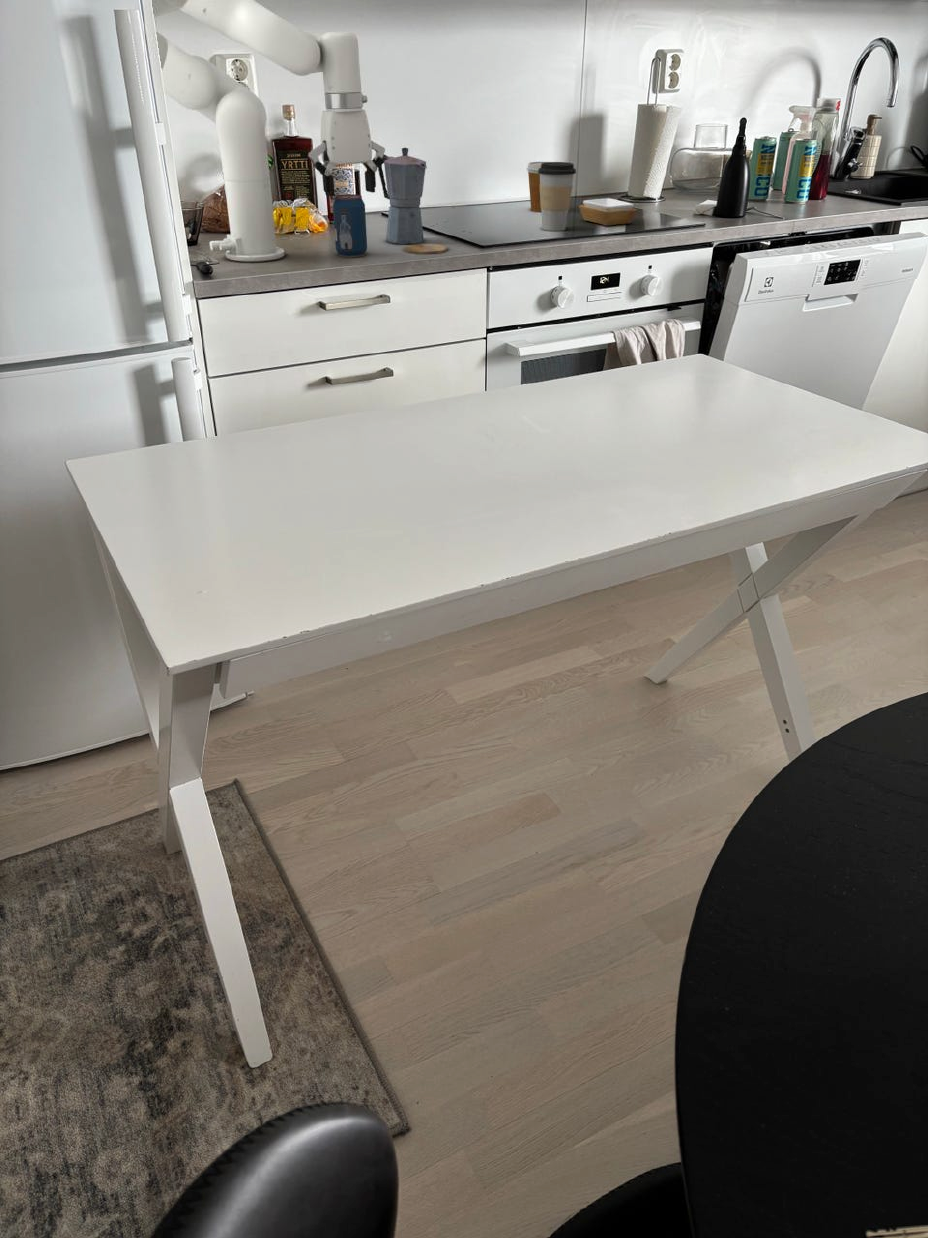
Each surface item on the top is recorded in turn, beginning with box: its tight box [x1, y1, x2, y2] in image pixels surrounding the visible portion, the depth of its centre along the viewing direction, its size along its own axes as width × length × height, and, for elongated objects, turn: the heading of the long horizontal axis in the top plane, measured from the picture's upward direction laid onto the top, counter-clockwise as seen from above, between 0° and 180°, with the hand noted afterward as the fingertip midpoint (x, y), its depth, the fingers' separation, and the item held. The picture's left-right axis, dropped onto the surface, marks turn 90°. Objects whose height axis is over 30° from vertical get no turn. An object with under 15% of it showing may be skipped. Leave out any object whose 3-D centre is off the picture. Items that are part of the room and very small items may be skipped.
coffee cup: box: [538, 161, 577, 232], centre depth 232 cm, size 9×9×15 cm
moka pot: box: [377, 147, 428, 245], centre depth 215 cm, size 10×15×20 cm, turn 53°
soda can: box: [332, 193, 368, 258], centre depth 203 cm, size 7×7×12 cm
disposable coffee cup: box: [526, 161, 546, 213], centre depth 259 cm, size 10×10×12 cm
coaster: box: [405, 243, 447, 255], centre depth 211 cm, size 9×9×1 cm
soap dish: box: [578, 197, 638, 227], centre depth 243 cm, size 12×10×5 cm
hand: (350, 193), depth 199 cm, fingers open, 9 cm apart
